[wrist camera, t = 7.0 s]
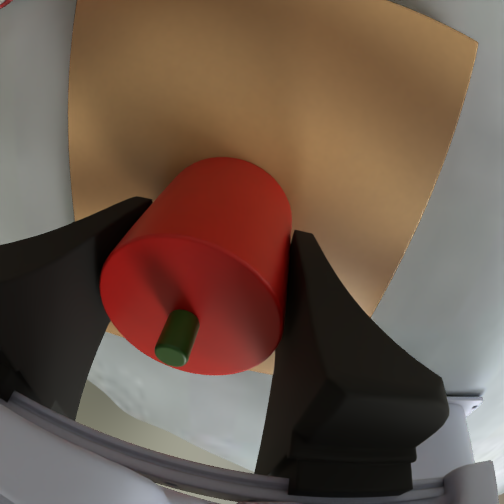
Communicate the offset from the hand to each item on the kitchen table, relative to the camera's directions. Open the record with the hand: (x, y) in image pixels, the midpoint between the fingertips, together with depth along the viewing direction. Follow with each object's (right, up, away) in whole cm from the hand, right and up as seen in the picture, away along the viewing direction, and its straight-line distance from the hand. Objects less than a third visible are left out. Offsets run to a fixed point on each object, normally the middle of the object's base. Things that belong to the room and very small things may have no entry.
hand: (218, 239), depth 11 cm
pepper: (0, +1, +1) cm, 1 cm away
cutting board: (0, +2, +2) cm, 3 cm away
